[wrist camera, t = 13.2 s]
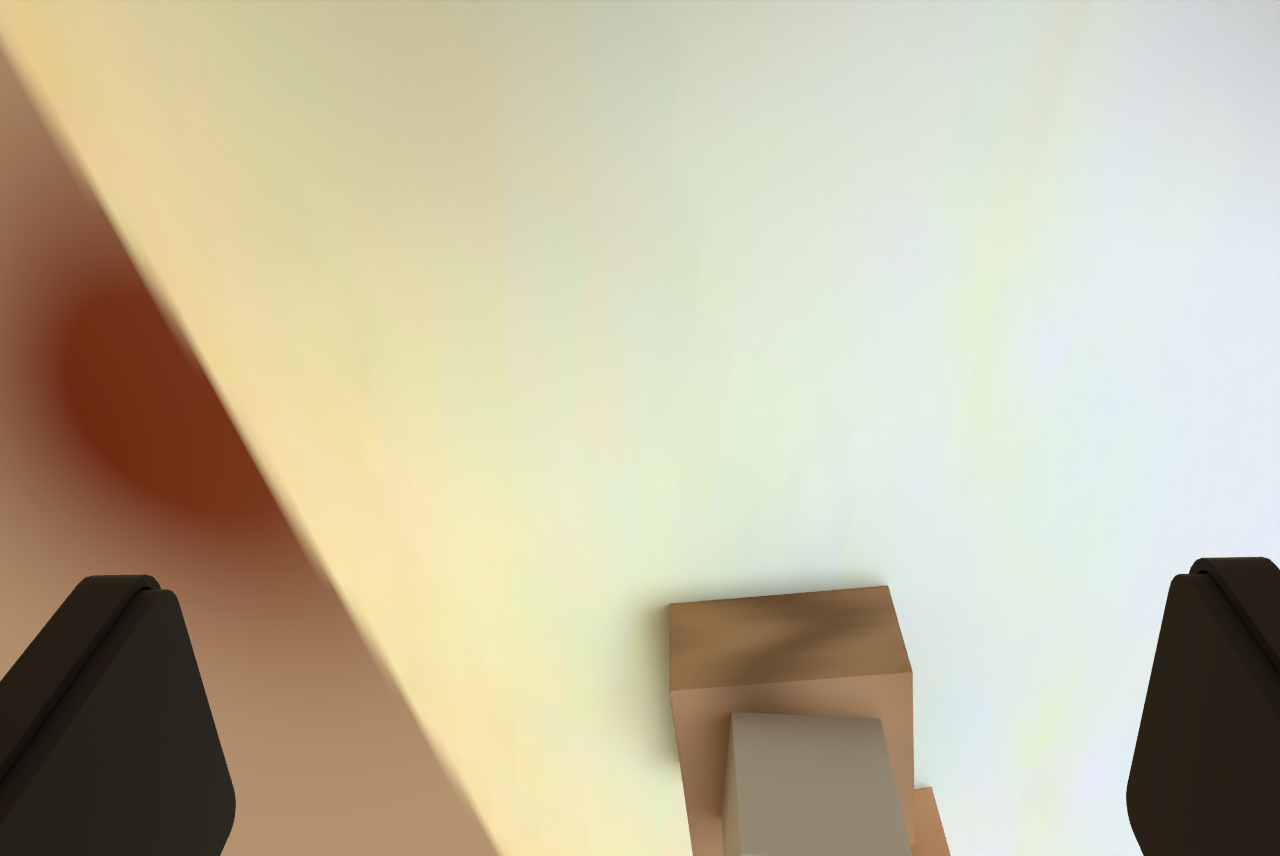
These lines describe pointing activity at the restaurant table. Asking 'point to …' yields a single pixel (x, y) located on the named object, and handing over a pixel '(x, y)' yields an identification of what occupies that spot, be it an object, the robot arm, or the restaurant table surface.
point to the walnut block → (784, 682)
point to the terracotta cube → (927, 826)
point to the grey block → (810, 788)
